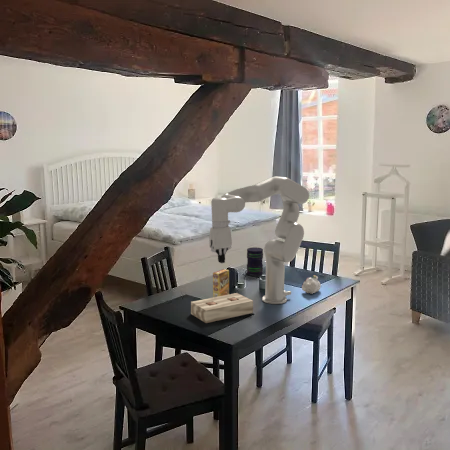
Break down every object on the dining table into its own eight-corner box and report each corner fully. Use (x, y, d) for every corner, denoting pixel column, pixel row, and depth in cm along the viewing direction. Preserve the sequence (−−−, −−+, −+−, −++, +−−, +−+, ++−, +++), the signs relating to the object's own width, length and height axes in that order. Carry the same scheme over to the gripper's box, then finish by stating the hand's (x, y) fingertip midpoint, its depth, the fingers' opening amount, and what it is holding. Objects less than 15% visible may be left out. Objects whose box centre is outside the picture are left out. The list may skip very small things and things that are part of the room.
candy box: (219, 303, 260) (219, 273, 258) (212, 301, 263) (212, 272, 260) (229, 298, 267) (229, 270, 265) (222, 297, 270) (222, 268, 267)
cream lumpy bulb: (316, 272, 284) (306, 275, 271) (327, 281, 281) (318, 285, 268) (306, 285, 287) (296, 289, 274) (317, 294, 284) (307, 299, 271)
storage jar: (265, 271, 319) (265, 248, 316) (259, 275, 310) (259, 251, 307) (250, 270, 323) (250, 246, 320) (244, 274, 314) (244, 250, 311)
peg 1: (212, 313, 245) (212, 301, 244) (217, 315, 242) (217, 303, 241) (205, 314, 243) (205, 303, 242) (209, 317, 240) (209, 305, 239)
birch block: (191, 314, 245) (191, 301, 244) (236, 304, 258) (236, 292, 257) (206, 323, 233) (206, 310, 232) (252, 312, 247) (253, 300, 246)
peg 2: (233, 308, 252) (233, 297, 251) (238, 311, 248) (238, 299, 247) (226, 310, 250) (227, 298, 248) (231, 312, 246) (231, 301, 245)
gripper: (229, 221, 246) (230, 258, 250) (202, 225, 238) (203, 263, 242) (238, 223, 240) (239, 261, 244) (210, 227, 232) (212, 267, 236)
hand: (221, 262), depth 243 cm, fingers closed
